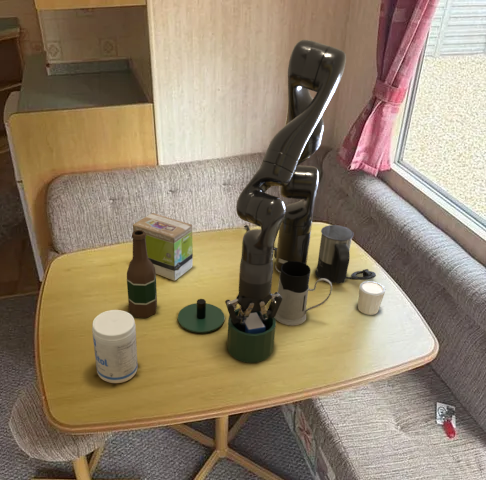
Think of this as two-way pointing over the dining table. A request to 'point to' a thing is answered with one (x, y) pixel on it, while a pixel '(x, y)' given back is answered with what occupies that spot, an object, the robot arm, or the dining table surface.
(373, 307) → the white ribbed cup
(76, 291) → the dining table surface
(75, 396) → the dining table surface
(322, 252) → the milk frother
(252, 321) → the cream cheese
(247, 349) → the pot
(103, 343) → the supplement tub
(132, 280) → the beer bottle
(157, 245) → the tea box
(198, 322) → the lid
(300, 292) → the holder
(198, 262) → the dining table surface
